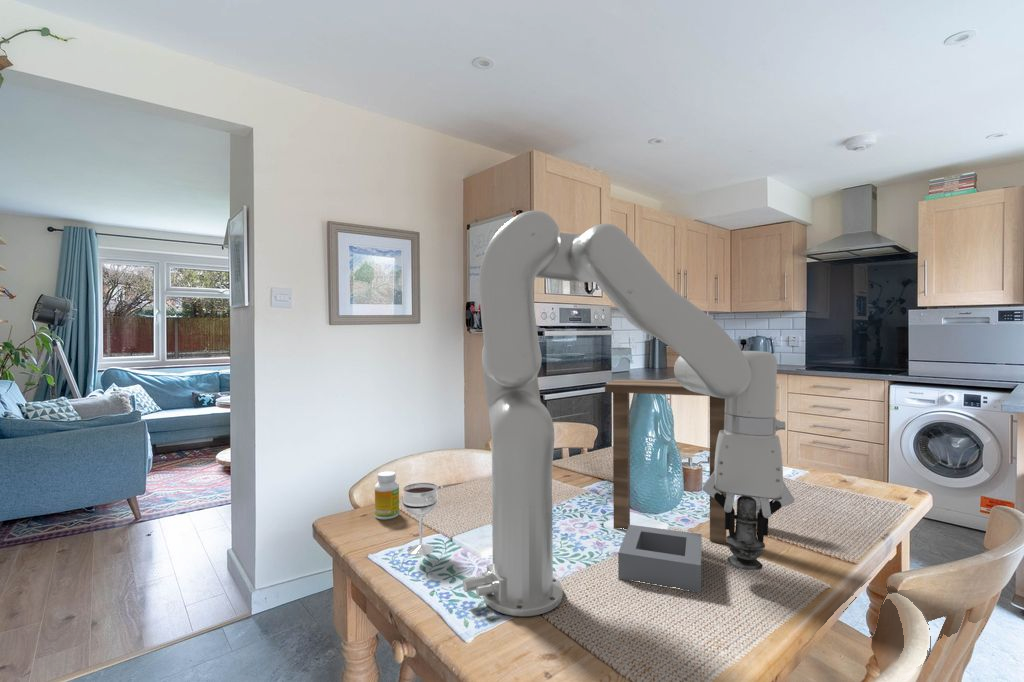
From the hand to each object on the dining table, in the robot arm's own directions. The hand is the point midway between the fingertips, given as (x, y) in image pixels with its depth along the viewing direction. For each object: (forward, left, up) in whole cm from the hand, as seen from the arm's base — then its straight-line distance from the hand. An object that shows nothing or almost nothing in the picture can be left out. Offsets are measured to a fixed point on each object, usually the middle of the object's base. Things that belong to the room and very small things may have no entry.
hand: (745, 535), depth 81 cm
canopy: (-1, +18, -8) cm, 20 cm away
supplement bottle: (-49, +56, -8) cm, 75 cm away
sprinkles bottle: (+21, +17, -8) cm, 28 cm away
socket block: (-9, +10, -8) cm, 15 cm away
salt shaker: (0, 0, -5) cm, 5 cm away
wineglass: (-46, +35, -8) cm, 58 cm away
